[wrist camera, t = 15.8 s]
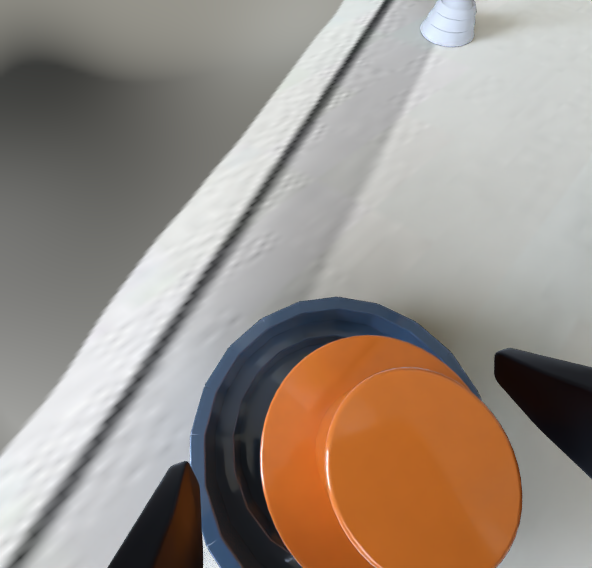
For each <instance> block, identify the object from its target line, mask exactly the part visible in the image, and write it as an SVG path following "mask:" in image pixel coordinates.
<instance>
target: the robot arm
mask: <svg viewBox="0 0 592 568" xmlns="http://www.w3.org/2000/svg"><path fill="white" fill-rule="evenodd" d="M494 375H495V378H496V380H497V382H498V383H499V385H500V386H501V387H502V388H503V389H504V390H505V391H506V392H507V394H508V395H509V396H510V397H511V398H512V399H513V400H514V401H515V403H516V404H517V405H518V406H519V407H520V408H521V409H522V410H523V412H524V413H525V414H526V415H527V416H528V417H529V418H530V419H531V421H532V422H533V423H534V424H535V425H536V426H537V427H538V428H539V429H540V430H541V431H542V432H543V433H544V434H545V435H546V436H547V437H548V438H549V439H550V440H551V441H552V442H553V443H554V444H555V445H557V446H558V447H559V448H560V449H561V450H562V451H563V452H564V453H565V454H566V455H567V456H568V457H569V458H570V459H571V460H572V461H573V462H574V463H575V464H577V465H578V466H579V467H580V468H581V469H582V470H583V471H584V472H585V473H586V474H587V475H588V476H589V477H590V478H591V479H592V367H588V366H584V365H580V364H575V363H571V362H567V361H563V360H559V359H555V358H550V357H546V356H542V355H538V354H534V353H530V352H526V351H521V350H517V349H513V348H506V349H503V350H501V351H498V352H496V354H495V358H494ZM108 568H203V541H202V519H201V497H200V486H199V483H198V480H197V478H196V476H195V474H194V472H193V470H192V468H191V466H190V464H189V463H188V462H187V461H184V462H181V463H178V464H175V465H173V466H171V467H170V468H169V469H168V471H167V473H166V474H165V476H164V477H163V479H162V481H161V482H160V484H159V486H158V487H157V489H156V490H155V492H154V494H153V495H152V497H151V498H150V500H149V502H148V503H147V505H146V506H145V508H144V510H143V511H142V513H141V515H140V516H139V518H138V519H137V521H136V523H135V524H134V526H133V527H132V529H131V531H130V532H129V534H128V536H127V537H126V539H125V540H124V542H123V544H122V545H121V547H120V548H119V550H118V552H117V553H116V555H115V556H114V558H113V560H112V561H111V563H110V565H109V566H108Z"/></svg>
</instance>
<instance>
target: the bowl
mask: <svg viewBox="0 0 592 568" xmlns="http://www.w3.org/2000/svg"><path fill="white" fill-rule="evenodd" d="M360 335H378V336H386V337H391V338H396V339H399V340H402V341H405V342H408V343H411V344H413V345H415V346H418V347H420V348H422V349H424V350H425V351H427V352H429V353H430V354H432V355H434V356H435V357H437V358H438V359H439V360H441V361H442V362H443V363H445V364H446V365H447V366H448V367H449V368H450V369H452V370H453V371H454V372H455V373H456V374H457V375H458V376H459V377H460V378H461V379H462V381H463V382H464V383H465V384H466V385H467V386H468V387H469V389H470V390H471V392H472V393H473V394H475V395H476V396H477V397H478V398H479V399H480V400H481V397H480V395H479V394H478V391H477V389H476V388H475V386H474V385H473V383H472V382H471V380H470V379H469V377H468V376H467V374H466V373H465V372H464V370H463V369H462V367H461V366H460V364H459V363H458V361H457V360H456V358H455V357H454V355H453V354H452V353H450V351H449V350H448V349H447V348H446V347H445V346H444V345H443V344H441V343H440V342H439V341H438V340H437V339H436V338H434V337H433V336H432V335H431V334H430V333H429V332H428V331H426V330H425V329H424V328H423V327H422V326H421V325H420V324H418V323H416V322H415V321H414V320H411V319H409V318H407V317H405V316H403V315H401V314H399V313H397V312H395V311H393V310H391V309H389V308H386V307H384V306H382V305H380V304H377V303H372V302H366V301H360V300H354V299H348V298H342V297H331V298H323V299H315V300H307V301H299V303H298V302H297V303H295V304H292V305H290V306H288V307H286V308H283V309H281V310H279V311H277V312H274V313H272V314H270V315H268V316H266V317H263V318H262V319H260V320H259V321H258V322H257V323H256V324H254V325H253V326H252V327H251V328H250V329H249V330H248V331H246V332H245V333H244V334H243V335H242V336H241V337H239V338H238V339H237V340H236V341H235V342H234V343H233V344H231V345H230V347H229V348H228V349H227V351H226V352H225V354H224V355H223V357H222V359H221V360H220V362H219V363H218V365H217V367H216V368H215V370H214V371H213V373H212V374H211V376H210V378H209V379H208V381H207V382H206V384H205V387H204V389H203V392H202V396H201V399H200V402H199V406H198V409H197V413H196V416H195V420H194V423H193V427H192V430H191V436H190V466H191V468H192V470H193V472H194V474H195V476H196V478H197V480H198V483H199V486H200V497H201V519H202V533H203V537H204V540H205V544H206V546H208V550H209V552H210V553H211V555H212V556H213V558H214V559H215V561H216V562H217V564H218V565H219V567H220V568H302V567H301V566H300V565H299V564H298V562H297V561H296V560H295V559H294V557H293V556H292V555H291V553H290V552H289V550H288V549H287V547H286V546H285V545H284V543H283V541H282V539H281V537H280V535H279V534H278V532H277V530H276V528H275V526H274V523H273V521H272V518H271V516H270V513H269V510H268V508H267V504H266V500H265V496H264V492H263V487H262V480H261V473H260V446H261V435H262V431H263V426H264V421H265V418H266V415H267V412H268V409H269V406H270V403H271V401H272V399H273V397H274V395H275V393H276V391H277V389H278V388H279V386H280V384H281V383H282V381H283V380H284V378H285V377H286V376H287V375H288V373H289V372H290V371H291V370H292V369H293V367H294V366H296V365H297V364H298V363H299V362H300V361H301V360H302V359H303V358H304V357H306V356H307V355H309V354H310V353H311V352H313V351H314V350H316V349H318V348H320V347H321V346H323V345H325V344H327V343H330V342H333V341H336V340H338V339H342V338H346V337H351V336H360ZM481 401H482V400H481Z"/></svg>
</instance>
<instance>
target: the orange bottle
mask: <svg viewBox="0 0 592 568" xmlns="http://www.w3.org/2000/svg"><path fill="white" fill-rule="evenodd" d="M260 473H261V480H262V487H263V492H264V496H265V500H266V504H267V508H268V510H269V513H270V516H271V518H272V521H273V523H274V526H275V528H276V530H277V532H278V534H279V535H280V537H281V539H282V541H283V543H284V545H285V546H286V547H287V549H288V550H289V552H290V553H291V555H292V556H293V557H294V559H295V560H296V561H297V562H298V564H299V565H300V566H301V567H302V568H496V567H497V566H498V565H499V564H500V563H501V562H502V561H503V559H504V558H505V556H506V555H507V553H508V552H509V550H510V548H511V546H512V544H513V541H514V539H515V537H516V534H517V530H518V527H519V524H520V517H521V511H522V486H521V477H520V472H519V467H518V463H517V460H516V457H515V454H514V451H513V448H512V446H511V444H510V441H509V439H508V437H507V435H506V433H505V432H504V430H503V428H502V426H501V425H500V423H499V422H498V420H497V419H496V417H495V416H494V415H493V413H492V412H491V411H490V410H489V409H488V407H487V406H486V405H485V404H484V403H483V402H482V401H481V400H480V399H479V398H478V397H477V396H476V395H475V394H473V393H472V392H471V390H470V389H469V387H468V386H467V385H466V384H465V383H464V382H463V381H462V379H461V378H460V377H459V376H458V375H457V374H456V373H455V372H454V371H453V370H452V369H450V368H449V367H448V366H447V365H446V364H445V363H443V362H442V361H441V360H439V359H438V358H437V357H435V356H434V355H432V354H430V353H429V352H427V351H425V350H424V349H422V348H420V347H418V346H415V345H413V344H411V343H408V342H405V341H402V340H399V339H396V338H391V337H386V336H378V335H360V336H351V337H346V338H342V339H338V340H336V341H333V342H330V343H327V344H325V345H323V346H321V347H320V348H318V349H316V350H314V351H313V352H311V353H310V354H309V355H307V356H306V357H304V358H303V359H302V360H301V361H300V362H299V363H298V364H297V365H296V366H294V367H293V369H292V370H291V371H290V372H289V373H288V375H287V376H286V377H285V378H284V380H283V381H282V383H281V384H280V386H279V388H278V389H277V391H276V393H275V395H274V397H273V399H272V401H271V403H270V406H269V409H268V412H267V415H266V418H265V421H264V426H263V431H262V435H261V446H260Z"/></svg>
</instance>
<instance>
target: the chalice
mask: <svg viewBox="0 0 592 568" xmlns="http://www.w3.org/2000/svg"><path fill="white" fill-rule="evenodd" d="M476 12H477V10H476V4H475V1H474V0H438V1H437V2H436V4H435V7H434V8H433V9H432V10H431V11H430V12H429V14H428V17H427V18H426V19H425V20H424V21H423V22H422V24H421V26H420V31H421V33H422V35H423V36H424V37H425V38H426V39H427V40H429V41H431V42H433V43H435V44H438V45H442V46H448V47H456V46H462V45H465V44H468V43H469V42H470V41H472V39H473V37H474V25H475V23H476V22H475V14H476Z"/></svg>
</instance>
